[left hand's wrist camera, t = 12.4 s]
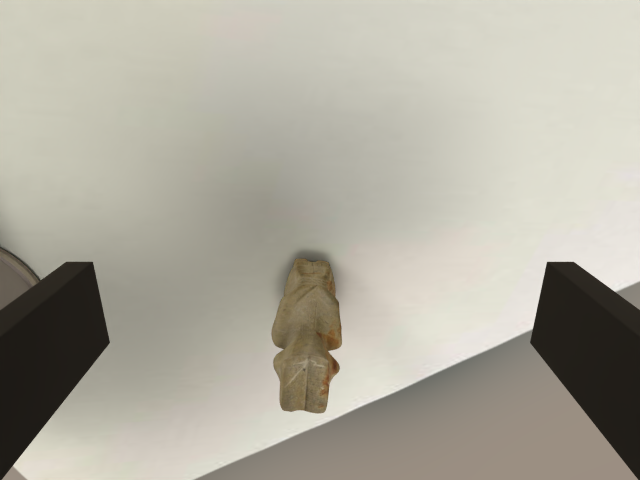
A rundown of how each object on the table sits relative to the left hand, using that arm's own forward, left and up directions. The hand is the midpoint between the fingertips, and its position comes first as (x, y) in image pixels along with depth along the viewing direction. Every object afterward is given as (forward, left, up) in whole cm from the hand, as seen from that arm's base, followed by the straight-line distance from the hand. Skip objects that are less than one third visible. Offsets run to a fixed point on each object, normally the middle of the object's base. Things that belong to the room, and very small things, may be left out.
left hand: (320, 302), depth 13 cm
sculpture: (-8, -11, -28) cm, 31 cm away
